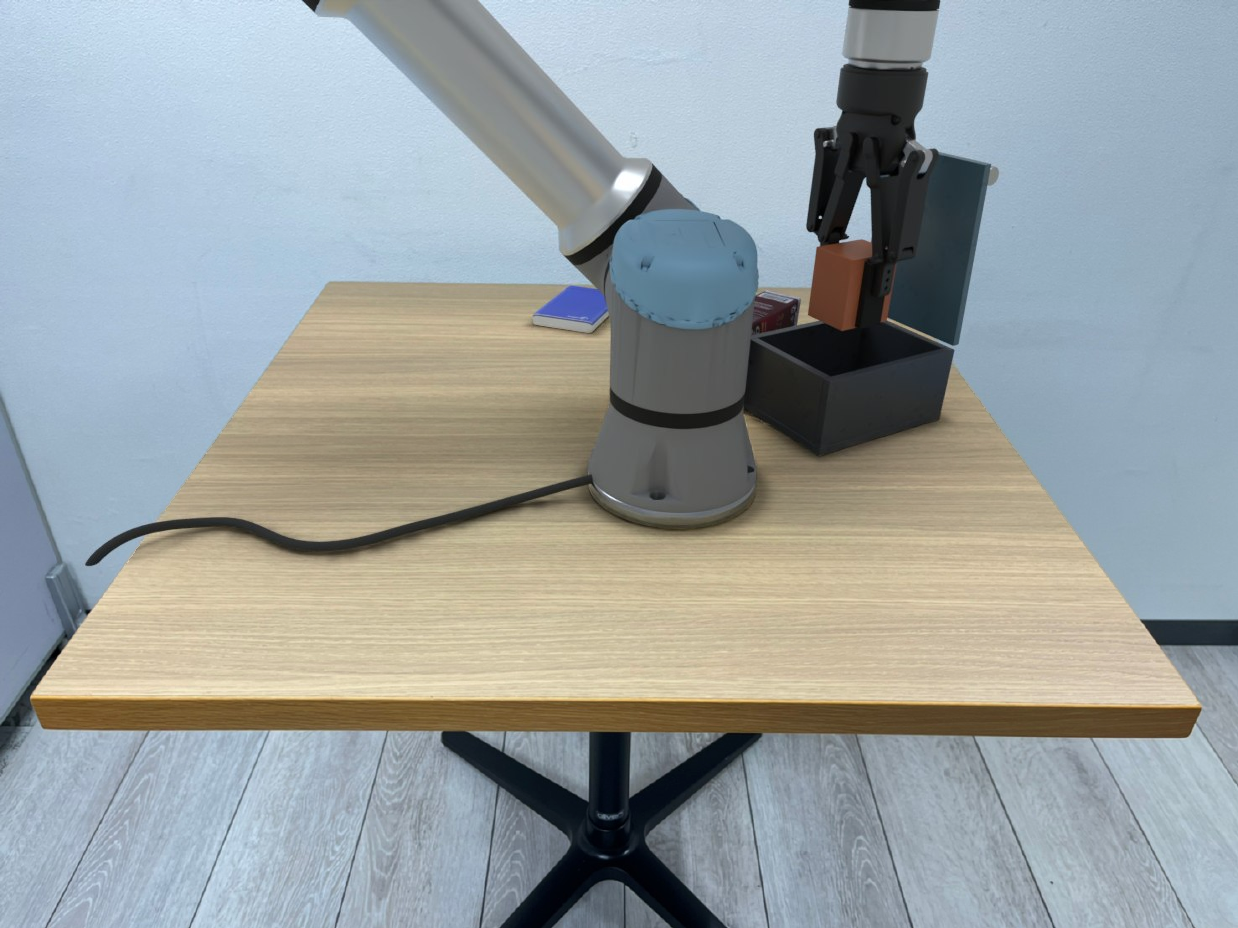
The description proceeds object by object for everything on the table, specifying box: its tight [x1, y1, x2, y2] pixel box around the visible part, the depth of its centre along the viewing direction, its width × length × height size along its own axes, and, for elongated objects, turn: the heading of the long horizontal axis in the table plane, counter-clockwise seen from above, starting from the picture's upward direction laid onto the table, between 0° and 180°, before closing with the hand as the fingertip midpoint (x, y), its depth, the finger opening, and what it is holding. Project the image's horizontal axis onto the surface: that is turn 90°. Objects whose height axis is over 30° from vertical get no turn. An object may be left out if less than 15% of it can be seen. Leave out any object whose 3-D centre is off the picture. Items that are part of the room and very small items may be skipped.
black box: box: [743, 320, 956, 457], centre depth 95 cm, size 17×13×8 cm
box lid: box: [870, 151, 1000, 347], centre depth 93 cm, size 18×13×7 cm
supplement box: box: [751, 289, 802, 335], centre depth 101 cm, size 9×5×16 cm
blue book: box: [532, 285, 609, 334], centre depth 121 cm, size 2×8×12 cm
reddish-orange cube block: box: [807, 238, 897, 331], centre depth 89 cm, size 6×5×7 cm
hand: (847, 315), depth 91 cm, fingers closed on reddish-orange cube block, 5 cm apart
